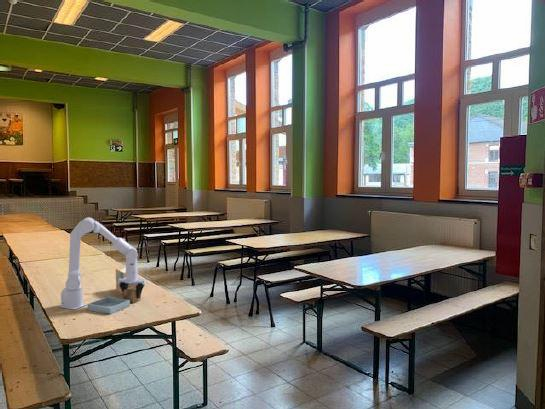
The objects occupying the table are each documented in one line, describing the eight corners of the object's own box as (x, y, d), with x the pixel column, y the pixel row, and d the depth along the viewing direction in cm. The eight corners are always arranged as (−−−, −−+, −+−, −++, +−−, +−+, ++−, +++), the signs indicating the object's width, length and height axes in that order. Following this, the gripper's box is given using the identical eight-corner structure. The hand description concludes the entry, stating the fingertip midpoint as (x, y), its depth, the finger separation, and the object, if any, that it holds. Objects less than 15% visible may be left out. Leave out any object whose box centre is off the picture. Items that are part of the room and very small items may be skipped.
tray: (87, 310, 199) (87, 304, 199) (107, 302, 211) (107, 296, 211) (110, 314, 194) (110, 308, 194) (129, 306, 206) (129, 300, 206)
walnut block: (123, 301, 212) (123, 289, 211) (131, 298, 217) (131, 287, 217) (133, 303, 210) (132, 291, 209) (140, 299, 215) (140, 288, 215)
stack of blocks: (141, 297, 221) (140, 274, 220) (129, 299, 217) (129, 276, 216) (127, 287, 237) (126, 266, 236) (115, 289, 233) (115, 268, 232)
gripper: (114, 272, 209) (115, 298, 211) (141, 274, 207) (141, 300, 208) (121, 269, 216) (122, 294, 218) (147, 270, 214) (148, 296, 215)
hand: (132, 297), depth 213 cm, fingers closed on walnut block, 6 cm apart
